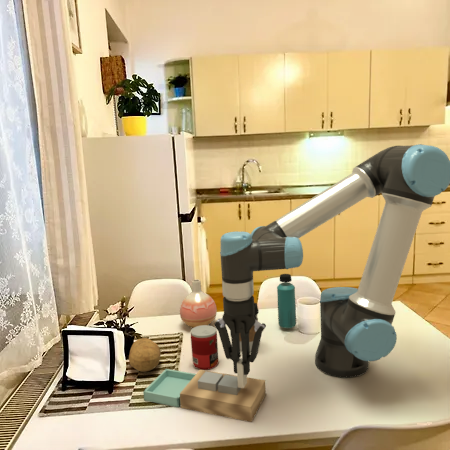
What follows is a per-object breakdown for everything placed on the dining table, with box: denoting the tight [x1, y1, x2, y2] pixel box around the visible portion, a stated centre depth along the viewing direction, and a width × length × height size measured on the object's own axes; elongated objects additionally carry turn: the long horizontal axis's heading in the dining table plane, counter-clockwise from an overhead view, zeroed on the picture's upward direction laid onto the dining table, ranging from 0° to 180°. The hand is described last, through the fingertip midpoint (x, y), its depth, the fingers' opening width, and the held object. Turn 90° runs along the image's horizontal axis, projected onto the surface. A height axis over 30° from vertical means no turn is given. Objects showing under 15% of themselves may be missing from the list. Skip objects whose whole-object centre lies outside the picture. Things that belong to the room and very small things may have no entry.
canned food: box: [190, 324, 219, 371], centre depth 126 cm, size 8×8×11 cm
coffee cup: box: [239, 302, 260, 353], centre depth 134 cm, size 8×8×15 cm
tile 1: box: [198, 370, 223, 391], centre depth 108 cm, size 5×5×2 cm
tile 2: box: [218, 374, 241, 395], centre depth 106 cm, size 5×5×2 cm
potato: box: [128, 337, 162, 373], centre depth 126 cm, size 10×14×8 cm
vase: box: [179, 278, 218, 329], centre depth 153 cm, size 14×14×18 cm
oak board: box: [180, 369, 267, 423], centre depth 107 cm, size 19×12×4 cm, turn 68°
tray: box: [142, 368, 197, 408], centre depth 113 cm, size 10×12×2 cm
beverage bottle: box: [276, 273, 297, 329], centre depth 147 cm, size 6×7×20 cm
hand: (242, 384), depth 105 cm, fingers closed
